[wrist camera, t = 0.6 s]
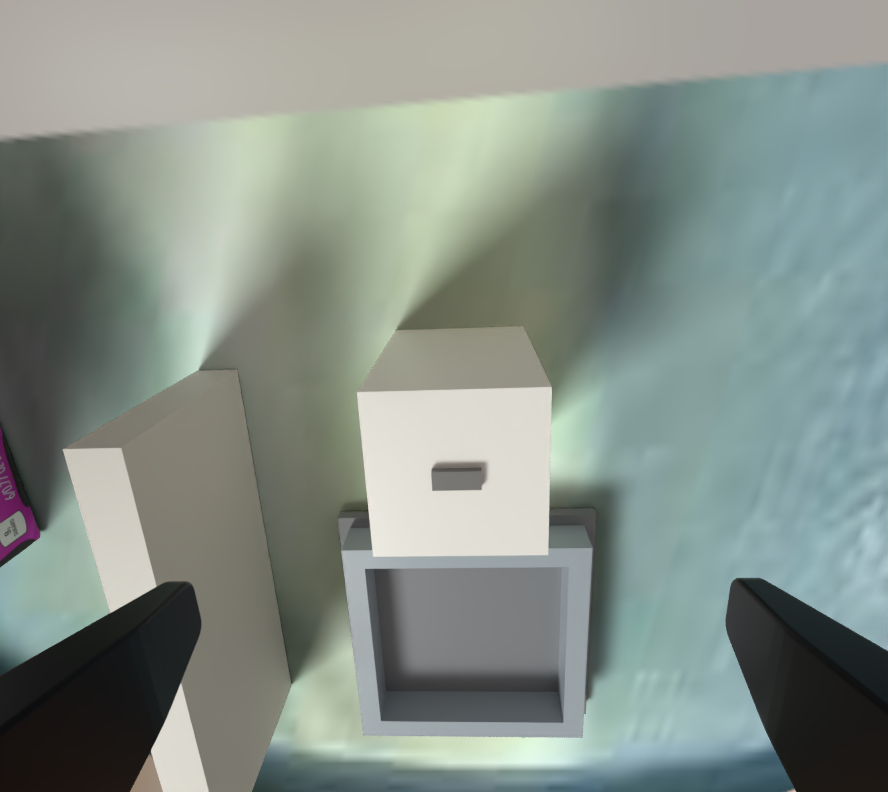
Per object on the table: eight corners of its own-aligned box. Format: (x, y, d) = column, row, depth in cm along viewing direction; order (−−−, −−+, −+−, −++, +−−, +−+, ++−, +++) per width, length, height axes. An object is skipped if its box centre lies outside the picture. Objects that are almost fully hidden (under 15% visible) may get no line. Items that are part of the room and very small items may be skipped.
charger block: (523, 326, 19) (553, 389, 12) (522, 443, 20) (549, 559, 14) (395, 330, 19) (354, 394, 12) (404, 446, 21) (372, 561, 14)
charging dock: (593, 507, 21) (605, 537, 19) (583, 704, 24) (593, 745, 22) (340, 511, 22) (327, 540, 20) (362, 702, 25) (353, 743, 23)
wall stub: (237, 369, 20) (121, 448, 13) (291, 685, 25) (225, 859, 18) (197, 370, 20) (62, 449, 13) (259, 685, 25) (182, 858, 18)
